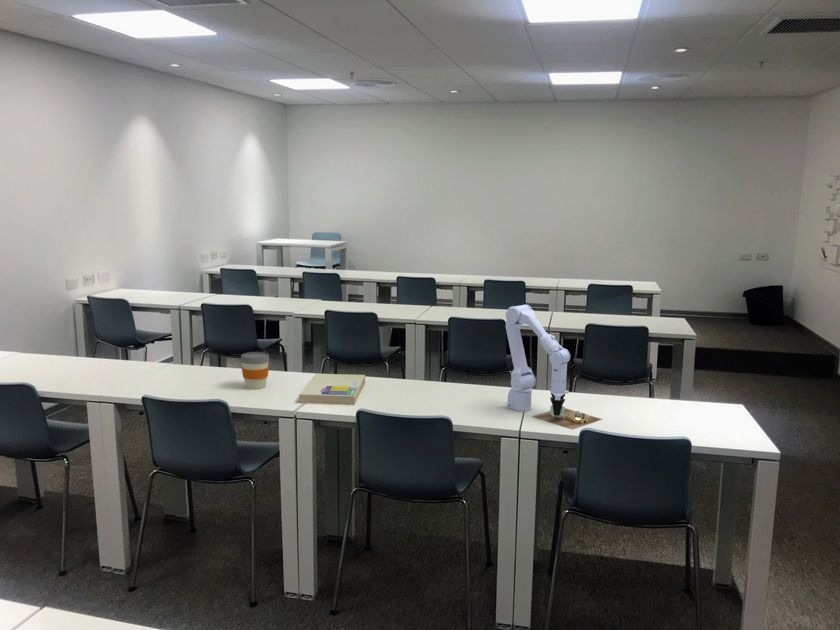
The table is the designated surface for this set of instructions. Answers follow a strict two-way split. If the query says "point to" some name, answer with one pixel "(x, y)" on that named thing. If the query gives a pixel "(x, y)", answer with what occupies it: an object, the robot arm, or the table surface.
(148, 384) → the table surface
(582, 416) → the brass gear
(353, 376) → the puzzle box
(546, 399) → the table surface
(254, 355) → the reusable coffee cup
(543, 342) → the robot arm
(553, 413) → the pale green gear
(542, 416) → the gear board
